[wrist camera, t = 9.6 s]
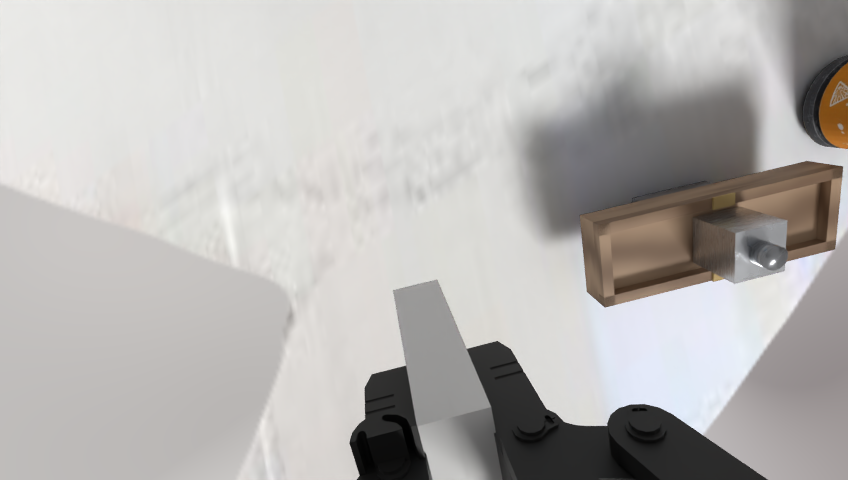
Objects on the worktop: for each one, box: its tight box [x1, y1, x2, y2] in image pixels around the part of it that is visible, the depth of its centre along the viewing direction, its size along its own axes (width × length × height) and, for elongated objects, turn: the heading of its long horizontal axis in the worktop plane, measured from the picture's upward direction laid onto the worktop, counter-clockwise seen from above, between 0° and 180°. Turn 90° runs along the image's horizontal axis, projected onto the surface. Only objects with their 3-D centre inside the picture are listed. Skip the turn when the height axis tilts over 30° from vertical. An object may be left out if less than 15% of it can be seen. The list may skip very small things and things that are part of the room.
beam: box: [580, 161, 843, 307], centre depth 45 cm, size 8×23×8 cm, turn 101°
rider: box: [693, 206, 788, 284], centre depth 39 cm, size 4×4×6 cm
